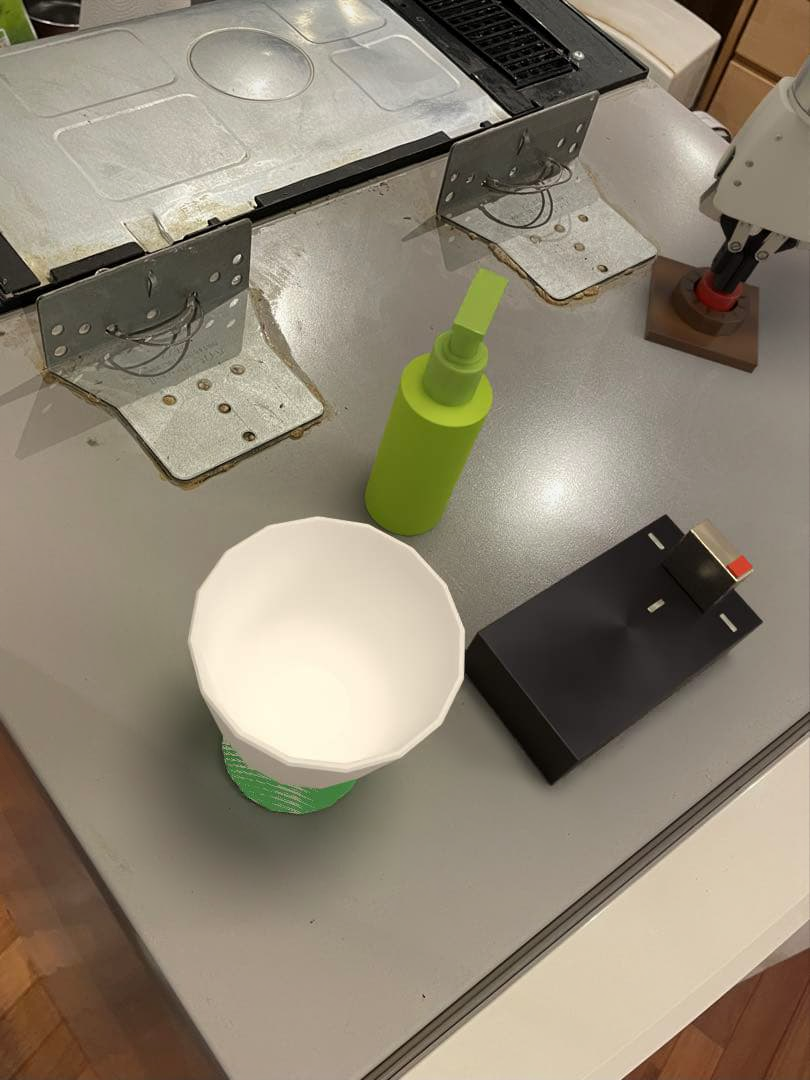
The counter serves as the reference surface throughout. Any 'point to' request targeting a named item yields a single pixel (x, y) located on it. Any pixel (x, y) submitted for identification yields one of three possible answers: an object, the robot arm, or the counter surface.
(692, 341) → the block
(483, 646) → the black switch box
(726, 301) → the button
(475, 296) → the soap dispenser
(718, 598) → the red-tipped black block
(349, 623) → the cup
